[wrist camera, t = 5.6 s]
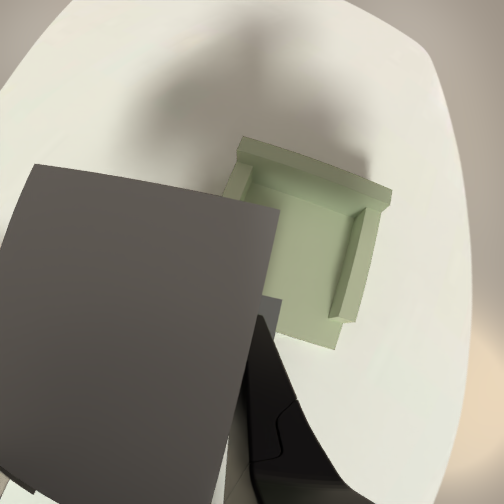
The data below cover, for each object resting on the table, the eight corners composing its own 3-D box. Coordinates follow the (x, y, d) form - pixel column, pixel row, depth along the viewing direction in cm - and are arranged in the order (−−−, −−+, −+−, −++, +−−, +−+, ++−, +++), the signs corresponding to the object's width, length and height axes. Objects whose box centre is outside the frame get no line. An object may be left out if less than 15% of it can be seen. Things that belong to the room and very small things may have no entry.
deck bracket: (332, 349, 21) (354, 353, 17) (189, 300, 22) (177, 293, 17) (368, 213, 24) (392, 190, 20) (242, 168, 25) (243, 136, 20)
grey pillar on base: (252, 410, 15) (291, 583, 2) (127, 376, 15) (-66, 424, 3) (277, 303, 17) (391, 204, 4) (153, 273, 17) (-1, 135, 4)
